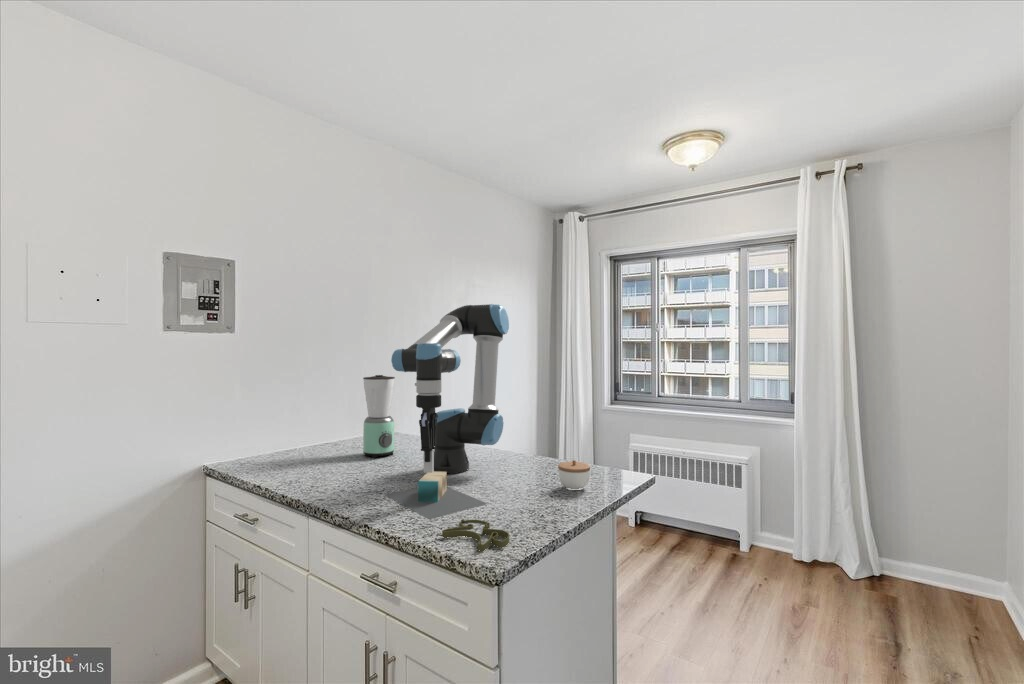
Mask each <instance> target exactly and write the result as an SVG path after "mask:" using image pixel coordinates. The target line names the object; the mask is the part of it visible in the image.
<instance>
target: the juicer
mask: <svg viewBox="0 0 1024 684" xmlns="http://www.w3.org/2000/svg"><path fill="white" fill-rule="evenodd" d="M362 378H363V379H362V380H363V389H364V394H365V401H366V409H367V415H368V416H367V417H366V418H365V419H364V421H363V442H362V443H363V444H362V445H363V447H362V448H363V449H362V451H363V454H365V455H364V456H368V457H369V456H370V457H372V459H376V458H375V457H377V458H378V457H381V456H389V455H392V456H394V452H395V422H394V418H393V417H392V416H391V414H390V413H391V408H392V400H393V393H394V388H395V379H396V377H395V376H386V375H384V374H376V375H374V376H364V377H362Z"/></svg>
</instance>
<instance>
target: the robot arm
mask: <svg viewBox="0 0 1024 684" xmlns="http://www.w3.org/2000/svg"><path fill="white" fill-rule="evenodd" d="M506 310H507V309H506V308H505V307H504V306H503V305H501V304H493V303H491V304H490V303H489V304H466V305H462V306H459V307H457V308H455V309H453V310H452V311H450V312H448V313H447V314H445V315H443V317H442V318H441V319H440V320H439V323H437V325H435V326H433V328H432V329H430V330H429V331H428V332H427V333H425V334H423V336H421V337H420V338H418V339H417V340H416V341H415V342H414V343H412V345H410V346H409V347H407V348H400V349H395V350H394V351H393V353H392V355H391V366H392V368H393V369H394V371H397V372H403V373H416V378H415V379H416V380H415V381H416V382H415V383H414V386H415V387H416V389H415V390H416V391H415V392H416V393H417V395H416V396H415V397H416V398H415V400H416V402H415V405H416V407H417V408H419V409H422V411H421V414H420V419H419V420H418V423H419V429H420V430H419V433H420V446H421V447H420V451H421V452H423V473H433V472H434V471H441V472H447V473H454V474H458V473H457V472H461V473H463V472H462V471H465V470H467V469H468V470H469V469H470V462H469V458H468V456H467V451H466V448H465V445H466V444H468V445H478V446H479V445H480V446H494V445H495V444H497V443H498V442H499V440H500V439H501V436H502V433H503V430H504V417H503V416H502V414H500V413H499V409H498V407H497V406H496V393H497V378H498V377H497V375H498V358H499V344H500V343H501V342H502V341H503V340H504V338H503V337H504V335H507V333H508V332H509V331H510V330H509V329H510V321H509V316H508V313H507V312H508V311H506ZM463 335H472V338H473V339H474V340H475V342H476V347H475V349H476V350H475V360H474V361H475V362H474V363H475V364H474V377H473V378H474V379H473V390H472V391H473V392H472V393H473V395H472V404H471V405H470V406H469V407H468V408H467V409H468V410H467V412H466V410H465V408H462V407H461V408H451V409H445V410H443V409H442V410H439V411H437V412H436V409H437V408H440V407H442V394H441V393H442V374H444V373H449V374H450V373H452V372H455V371H457V370H459V367H460V365H461V363H462V362H461V361H462V360H461V356H460V354H459V353H458V352H457V351H456V349H455V350H454V349H451V348H445V349H442V348H443V347H445V345H447V344H448V343H449V342H450V341H451V340H453V339H456V338H459V337H460V336H463ZM468 470H467V471H468ZM465 472H466V471H465Z"/></svg>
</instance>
